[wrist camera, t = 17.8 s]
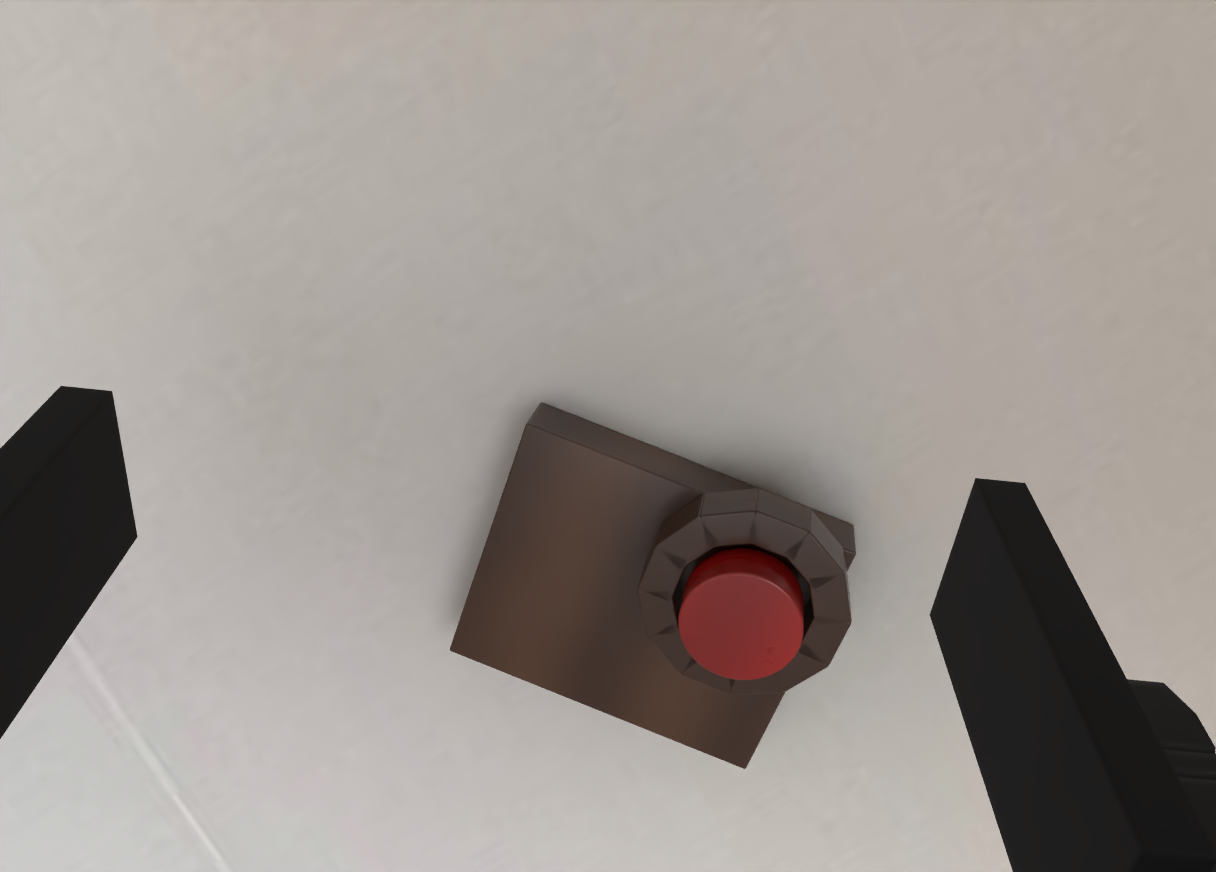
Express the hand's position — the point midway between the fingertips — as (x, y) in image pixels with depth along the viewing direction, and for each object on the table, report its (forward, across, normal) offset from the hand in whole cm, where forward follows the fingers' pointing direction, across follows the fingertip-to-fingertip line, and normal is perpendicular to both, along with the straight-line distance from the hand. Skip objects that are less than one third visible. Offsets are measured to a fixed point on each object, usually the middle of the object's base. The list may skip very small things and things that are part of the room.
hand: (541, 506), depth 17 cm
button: (+14, +6, -13) cm, 21 cm away
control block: (+18, +3, -16) cm, 24 cm away
